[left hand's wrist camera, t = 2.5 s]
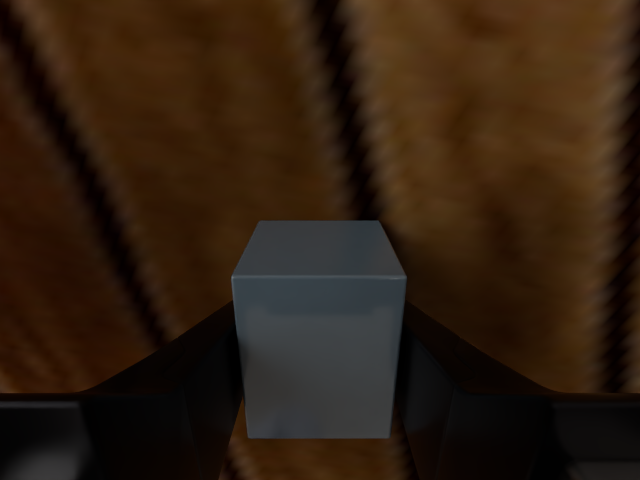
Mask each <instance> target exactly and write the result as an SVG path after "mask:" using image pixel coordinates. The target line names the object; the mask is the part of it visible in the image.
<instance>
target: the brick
mask: <svg viewBox="0 0 640 480" xmlns="http://www.w3.org/2000/svg"><path fill="white" fill-rule="evenodd" d="M231 284H232V294H233V303H234V313H235V322H236V332H237V342H238V351H239V361H240V370H241V380H242V389H243V399H244V408H245V418H246V427H247V436H248V438H250V439H388V438H390V437H391V430H392V420H393V411H394V401H395V392H396V382H397V372H398V363H399V353H400V344H401V334H402V325H403V315H404V305H405V296H406V286H407V276H406V274H405V272H404V269H403V267H402V265H401V263H400V261H399V259H398V257H397V255H396V253H395V251H394V249H393V247H392V245H391V243H390V241H389V239H388V237H387V235H386V233H385V231H384V229H383V227H382V225H381V223H380V221H259V222H258V224H257V226H256V228H255V230H254V232H253V234H252V236H251V238H250V240H249V242H248V244H247V246H246V248H245V250H244V252H243V254H242V256H241V258H240V260H239V262H238V264H237V266H236V268H235V270H234V272H233V274H232V276H231Z"/></svg>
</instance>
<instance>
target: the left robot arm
mask: <svg viewBox="0 0 640 480" xmlns="http://www.w3.org/2000/svg"><path fill="white" fill-rule="evenodd" d="M395 396H396V399H397V403H398V406H399V410H400V413H401V417H402V420H403V423H404V427H405V430H406V434H407V437H408V441H409V444H410V447H411V451H412V454H413V458H414V461H415V465H416V468H417V472H418V475H419V478H420V480H640V393H562V392H557V391H553V390H550V389H548V388H545V387H543V386H541V385H539V384H537V383H535V382H533V381H532V380H530V379H528V378H526V377H525V376H523V375H521V374H519V373H518V372H516V371H514V370H512V369H511V368H509V367H507V366H505V365H504V364H502V363H500V362H498V361H497V360H495V359H493V358H492V357H490V356H488V355H487V354H485V353H483V352H482V351H480V350H479V349H477V348H476V347H474V346H472V345H471V344H469V343H468V342H467V341H465V340H464V339H462V338H460V337H459V336H458V335H456V334H455V333H453V332H452V331H450V330H449V329H447V328H446V327H444V326H443V325H441V324H440V323H439V322H437V321H436V320H434V319H433V318H431V317H430V316H428V315H427V314H425V313H424V312H422V311H421V310H420V309H418V308H417V307H415V306H414V305H412V304H411V303H409V302H408V301H406V300H405V305H404V315H403V325H402V334H401V344H400V353H399V363H398V372H397V382H396V392H395ZM242 397H243V389H242V380H241V370H240V361H239V351H238V342H237V332H236V322H235V313H234V303H233V300H232V301H231V302H229V303H228V304H226V305H225V306H223V307H222V308H220V309H219V310H217V311H216V312H214V313H213V314H211V315H210V316H208V317H207V318H206V319H204V320H203V321H201V322H200V323H198V324H197V325H195V326H194V327H192V328H191V329H189V330H188V331H186V332H185V333H183V334H182V335H180V336H179V337H178V338H176V339H174V340H173V341H171V342H170V343H169V344H167V345H165V346H164V347H162V348H161V349H159V350H158V351H156V352H155V353H153V354H151V355H150V356H148V357H146V358H144V359H143V360H141V361H139V362H138V363H136V364H134V365H132V366H130V367H129V368H127V369H125V370H123V371H122V372H120V373H118V374H116V375H115V376H113V377H111V378H109V379H108V380H106V381H104V382H102V383H100V384H99V385H97V386H95V387H92V388H90V389H87V390H84V391H80V392H75V393H0V480H218V479H219V475H220V472H221V468H222V465H223V462H224V458H225V455H226V451H227V448H228V445H229V441H230V438H231V434H232V431H233V428H234V424H235V421H236V417H237V414H238V411H239V407H240V404H241V400H242Z"/></svg>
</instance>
